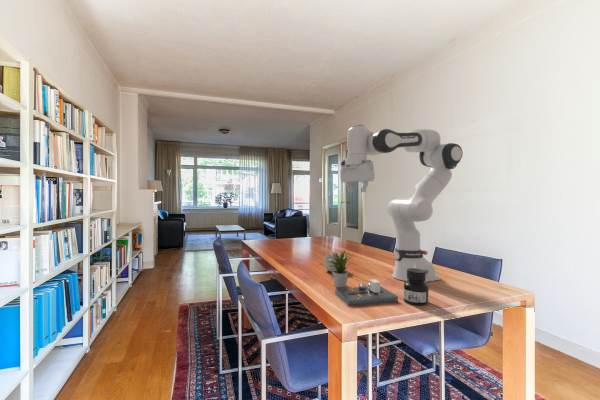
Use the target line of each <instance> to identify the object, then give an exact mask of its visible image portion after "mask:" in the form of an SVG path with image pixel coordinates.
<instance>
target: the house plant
mask: <svg viewBox="0 0 600 400" xmlns="http://www.w3.org/2000/svg"><path fill="white" fill-rule="evenodd" d="M328 251H330V252H331V254H332V255H334V256H333V257H334V259H335V260H336V262H337V263H336V262H335V261H334V262H333V261H332V260H331V261H327V262H330V263H333V264H334V265H329V268H330V267H332V266H334V267H335V268H336V269H337V270H334V271H332V272H331V273H332V279H333V285H334V287H335V288H347V284H348V283H347V282H348V278H349V271H348V268H347V267H348V266H350V265H351V264H352V265H353V264H354V263H349V264H347V262H349V260H350V259H351V258H352V256H350V254H349V253H348V251H347V252H346V249H342V250H341V253H340V258H339V256H338V255H339V254H338V253H337V251H334V252H333V251H332V250H328ZM345 253H346V254H345ZM326 255H329V254H328V253H326ZM335 255H336V256H335ZM344 257H345V258H344ZM331 258H332V257H331ZM343 258H344V260H343ZM332 259H333V258H332ZM328 264H329V263H328ZM327 267H328V266H327Z"/></svg>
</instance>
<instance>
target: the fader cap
mask: <svg viewBox="0 0 600 400" xmlns="http://www.w3.org/2000/svg"><path fill="white" fill-rule="evenodd" d="M369 283H370V290H371V291H372V292H374V293H378V292H380V286H381V282H380V281H379V280H377V279H373V278H372V279H369Z"/></svg>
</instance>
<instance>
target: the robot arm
mask: <svg viewBox="0 0 600 400" xmlns="http://www.w3.org/2000/svg"><path fill="white" fill-rule="evenodd" d="M346 139H347V140H346V146H347V153H346V158H345V159H343V160H342V161H340V163H339V164H340V165H339V166H340V182H341V183H345V185H346V188H347V192H348V193H353V192H354V188H353V187H352V183H362V186H361V187H360V193H366V192H367V188H368V186H369V182H373V181H374V180H375V178H376V177H375V167H374V162H373V160H371V159H368V156H376V155H380V154H388V153H392V152H394V151H395V150H397V149H399V148H403V150H405V151H406V152H407V153H419V155H418V157H419V161H420V164H421V165H423V166H424V167H428V168H430V170H429V172H428V173H426V174H425V175H424V176H423V177H422V178H421V179H420V180H419V181H418V182H417V183H416V184H415V186H414V188H413V191H414V194H413V195H412V196H410V197H398V198H394V199H391V200H390V201H389V202H388V204H387V213H388V215H389V216H390V217H391V219H392V222H393V225H394V229H395V230H394V231H395V235H396V236H395V241H396V242H395V245H396V246H395V250H394V258H395V262H394V268H393V272H392V275H391V276H392V277H393V279H396V280H400V281H404V282H406V281H407V269H409V268H417V269H423V270H425V271H426V281H425V282H426V283H427V282H433V281H439V280H442V279H441V276H440V275H438V274H437V273H436V268H435V266H434V265H433V263H431V262H430V261H429V260H427V259H426V257H424V256H427V255H428V251H427V250H422V249H421V233H420V231H419V230H418V229H417V228H416V225H415V223H414V222H416V223H417V222H426V221H428V220H429V219H430V218H431V217H432V215H433V206H432V205H433V202H434V200H436V198H438V197H439V195H440V194H441V193H442V191H444V189H445V188H446V187H447V186H448V185H449V183H450V181H451V179H452V176H453V173H452V170H453V169H455V168H456V167H457V166H458V164H459V163H460V162H461V159H462V158H463V149H462V146H460V145H459V144H458V143H452V142H450V143H449V142H448V143H441V136H440V133H439V132H438V131H436V130H433V129H426V128H419V129H418V128H417V129H412V130H408V131H406V132H397V131H394V130H392V129H389V128H384V129H380V130H379V131H377V132H373V131H371V130H369V128H367V126H366V125H365V124H357V125H354V126H351V127H350V128H348V130H347V137H346Z"/></svg>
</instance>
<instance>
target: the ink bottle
mask: <svg viewBox="0 0 600 400" xmlns="http://www.w3.org/2000/svg"><path fill="white" fill-rule="evenodd" d="M425 281H426V271H425V270H423V269H417V268H409V269H407V281H404V282H403V290H402V291H403V293H402V294H403V297H402V298H403V301H404V302H405V303H407V304H411V305H416V306H425V305H428V304H429V295H430V294H429V287H430V286H429V285H428V283H427V282H425Z"/></svg>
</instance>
